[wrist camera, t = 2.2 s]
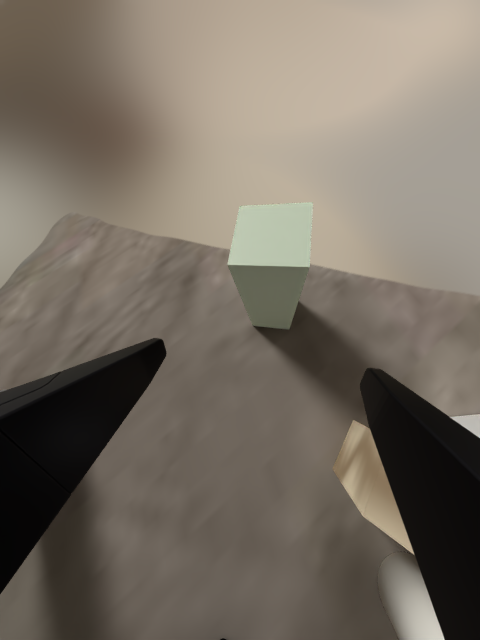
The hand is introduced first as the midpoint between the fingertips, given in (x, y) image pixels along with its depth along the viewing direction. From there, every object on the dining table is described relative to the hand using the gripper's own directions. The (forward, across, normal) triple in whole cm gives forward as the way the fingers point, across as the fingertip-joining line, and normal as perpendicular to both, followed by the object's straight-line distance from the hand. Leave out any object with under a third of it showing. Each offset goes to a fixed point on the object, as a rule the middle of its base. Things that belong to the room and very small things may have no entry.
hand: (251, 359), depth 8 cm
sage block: (+15, 0, +4) cm, 16 cm away
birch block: (+5, -11, +14) cm, 19 cm away
